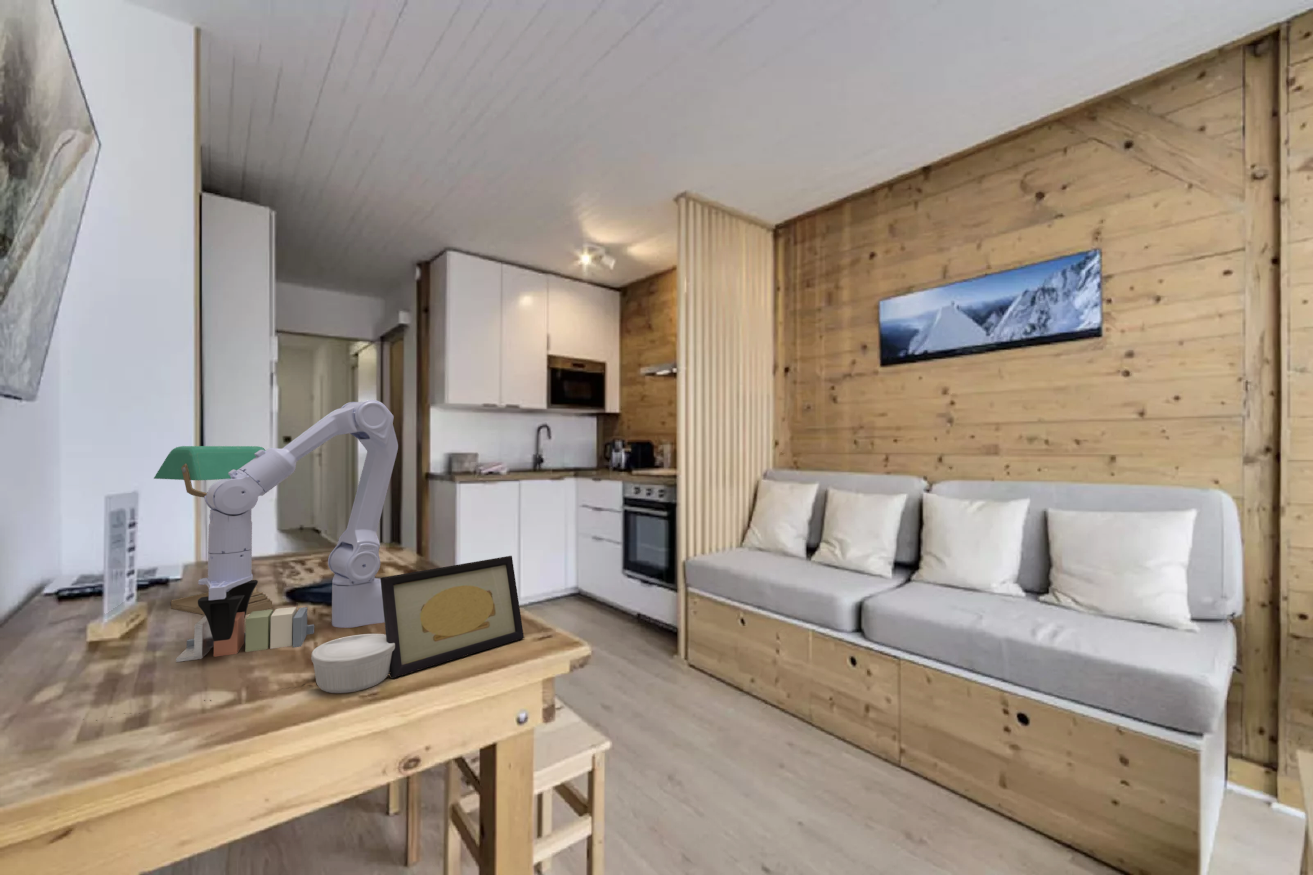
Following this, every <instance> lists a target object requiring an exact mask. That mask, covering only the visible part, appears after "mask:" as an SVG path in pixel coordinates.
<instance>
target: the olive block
mask: <svg viewBox="0 0 1313 875" xmlns="http://www.w3.org/2000/svg"><path fill="white" fill-rule="evenodd" d="M273 613H274V609H272V608H270V609H266V610H262V611H253V612H252V613H251V614H248V616H247V617H245V633H246V642H245V643H244V644H245V648H244V651H245V653H249V652H256V651H263V650H268V649H269V648H270V638H271V615H272V614H273Z"/></svg>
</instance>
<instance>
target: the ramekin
mask: <svg viewBox="0 0 1313 875" xmlns="http://www.w3.org/2000/svg"><path fill="white" fill-rule="evenodd" d="M394 649H395V643H388V642H387V641H386V633H385V634H384V633H363V634H354V635H349V636H344V637H340V638H336V639H332V640H329V641H326V642H324V643H322V644H320V645H318V646H317V647H315V648H314V649H313V650H312V652H311V655H310V656H311V658H310V659H311V663H313V670H314V675H315V676H314V677H315V682H316V684H317V686H318V688H319V689H321V690H322V691H323V692H325V693H330V694H347V693H354V692H358V691H362V690H363V691H364V690H366V689H369V688H372V687H374V686H376V685H379V684H380V683H382V682H383V681H384V680H385V679H386V678H387V677H388V676H389V675H390V662H391V656H392V651H393V650H394Z"/></svg>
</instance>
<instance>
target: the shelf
mask: <svg viewBox="0 0 1313 875" xmlns="http://www.w3.org/2000/svg"><path fill="white" fill-rule="evenodd" d="M314 633H315V624H314V623H312V624H308V606H305V607H304V606H303V607H299V608H297V611H296V614H295V616H294V618H293V644H292V648H300V647H302V646H303V644H304V641H305V639H306V637H307V636H308V635H313V634H314ZM244 643H246V632H244ZM189 646H194V638H189V639H187V640H186V648H187V647H189ZM213 647H214V640H213Z"/></svg>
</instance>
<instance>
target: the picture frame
mask: <svg viewBox="0 0 1313 875" xmlns="http://www.w3.org/2000/svg"><path fill="white" fill-rule="evenodd" d="M379 579H380V580H381V590H382V600H383V611H384V621H385V622H384V629H385V631H384V632H385V635H386V641H387V642H388V643H395V649H394V650H393V651H392V656H391V662H390V673H389V678H390V679H395V678H398V677H401V676H403V675H404V676H405V675H407V674H410V673H413V672H417V671H420V670H424V669H426V668H430V667H434V666H437V665H440V664H443V663H446V662H451V661H452V660H457V659H459V658H463V657H467V656H470V655H472V654H476V653H479V652H483V651H486V650H489V649H492V648H493V649H494V648H496V647H498V646H502V645H505V644H509V643H512V642H516V641H519V640H522V639H524V638H525V635H524V629H523V622H522V615H521V609H520V601H519V596H518V588H517V581H516V576H515V568H514V561H513V555H507V556H499V557H496V558H489V559H488V558H487V559H484V560H478V561H472V562H466V563H459V564H455V565H448V566H443V567H437V568H430V569H425V570H418V571H412V572H406V573H402V574H395V575H388V576H383V577H382V576H381V577H379Z"/></svg>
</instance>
